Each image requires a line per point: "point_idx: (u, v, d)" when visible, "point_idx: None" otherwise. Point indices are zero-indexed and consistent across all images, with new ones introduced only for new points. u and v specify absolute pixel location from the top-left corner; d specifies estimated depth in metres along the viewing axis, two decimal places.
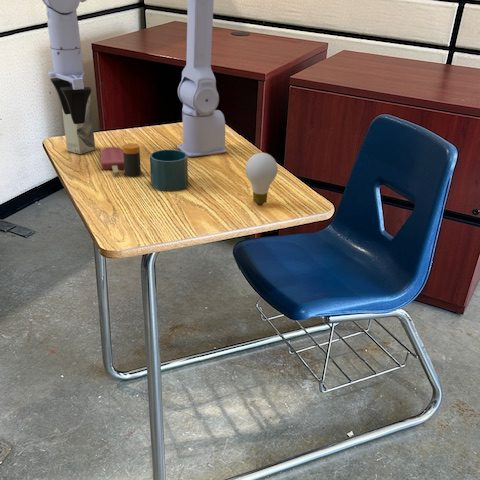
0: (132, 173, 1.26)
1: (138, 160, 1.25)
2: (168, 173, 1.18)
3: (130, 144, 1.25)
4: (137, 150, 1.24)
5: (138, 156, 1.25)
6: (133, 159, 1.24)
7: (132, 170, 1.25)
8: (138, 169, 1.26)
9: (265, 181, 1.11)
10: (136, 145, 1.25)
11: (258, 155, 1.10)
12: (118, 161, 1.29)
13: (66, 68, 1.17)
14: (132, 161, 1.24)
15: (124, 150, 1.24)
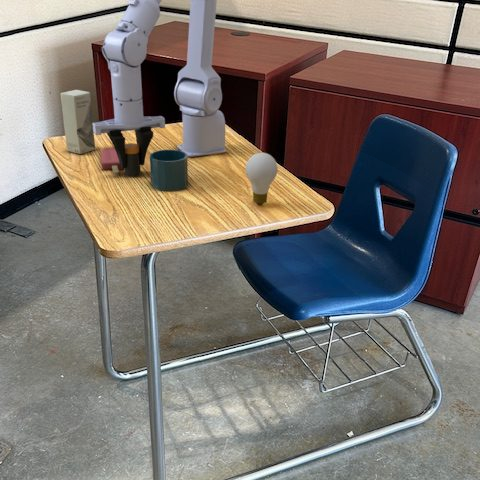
0: (132, 173, 1.26)
1: (138, 160, 1.25)
2: (168, 173, 1.18)
3: (130, 144, 1.25)
4: (137, 150, 1.24)
5: (138, 156, 1.25)
6: (133, 159, 1.24)
7: (132, 170, 1.25)
8: (138, 169, 1.26)
9: (265, 181, 1.11)
10: (136, 145, 1.25)
11: (258, 155, 1.10)
12: (118, 161, 1.29)
13: (114, 115, 1.21)
14: (132, 162, 1.24)
15: None
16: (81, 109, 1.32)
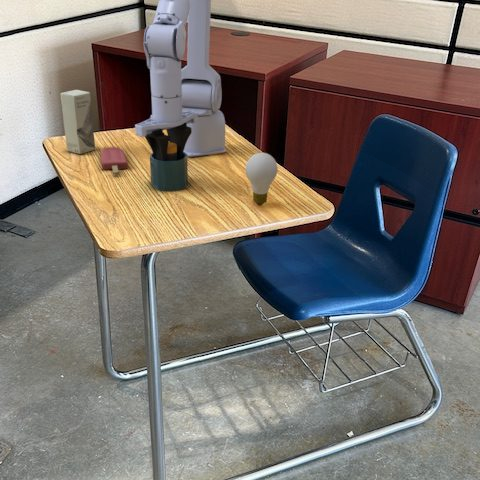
0: None
1: None
2: (168, 173, 1.18)
3: None
4: (176, 149, 1.19)
5: (176, 155, 1.20)
6: (174, 158, 1.19)
7: None
8: None
9: (265, 181, 1.11)
10: (173, 144, 1.19)
11: (258, 155, 1.10)
12: (118, 161, 1.29)
13: (153, 114, 1.14)
14: None
15: None
16: (81, 109, 1.32)
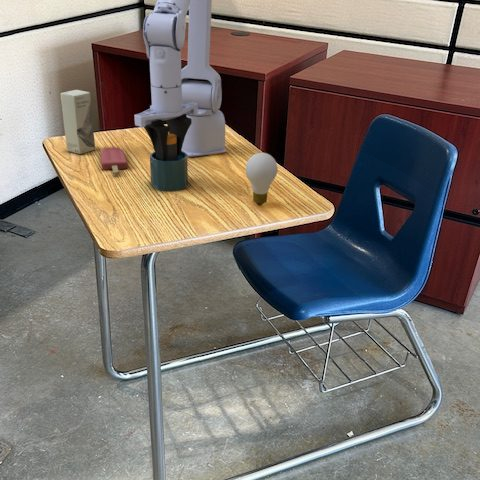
0: None
1: (176, 150, 1.19)
2: (168, 173, 1.18)
3: None
4: (176, 140, 1.18)
5: (176, 146, 1.19)
6: (173, 149, 1.18)
7: None
8: None
9: (265, 181, 1.11)
10: (173, 135, 1.18)
11: (258, 155, 1.10)
12: (118, 161, 1.29)
13: (152, 104, 1.13)
14: (172, 152, 1.18)
15: None
16: (81, 109, 1.32)
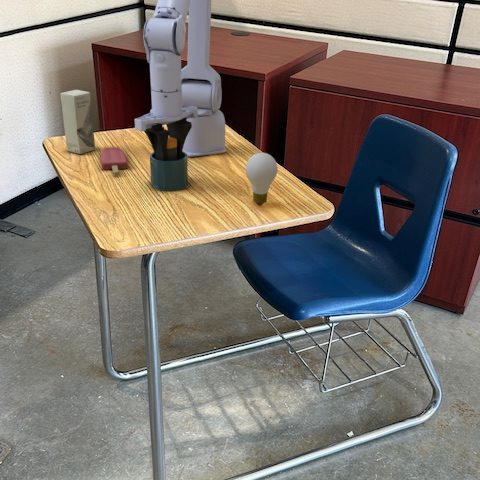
0: None
1: (176, 154, 1.20)
2: (168, 173, 1.18)
3: None
4: (176, 143, 1.18)
5: (176, 150, 1.19)
6: (174, 153, 1.18)
7: None
8: None
9: (265, 181, 1.11)
10: (173, 138, 1.19)
11: (258, 155, 1.10)
12: (118, 161, 1.29)
13: (153, 108, 1.14)
14: (172, 156, 1.19)
15: None
16: (81, 109, 1.32)
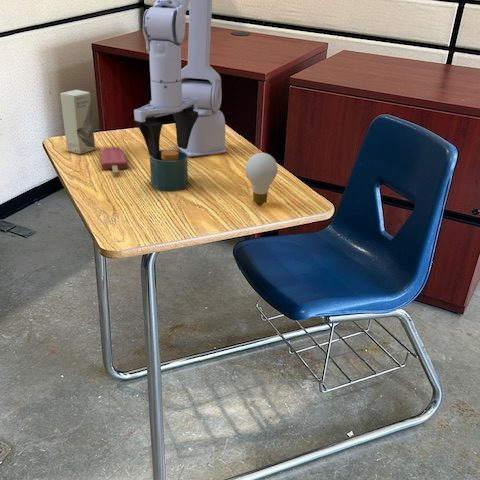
0: None
1: None
2: (168, 173, 1.18)
3: (167, 151, 1.20)
4: None
5: None
6: None
7: None
8: None
9: (265, 181, 1.11)
10: (174, 151, 1.20)
11: (258, 155, 1.10)
12: (118, 161, 1.29)
13: (152, 99, 1.13)
14: None
15: (165, 157, 1.19)
16: (81, 109, 1.32)
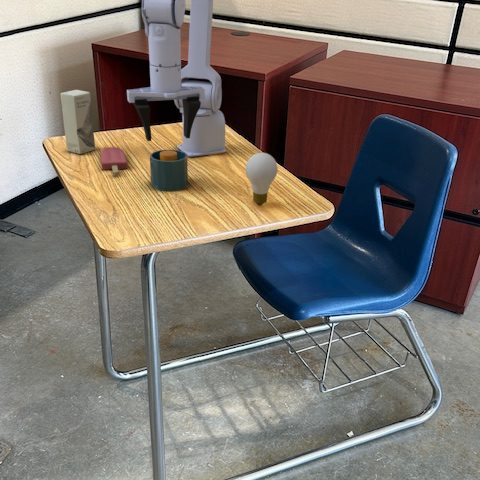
0: None
1: None
2: (168, 173, 1.18)
3: (166, 151, 1.20)
4: (176, 157, 1.20)
5: None
6: None
7: None
8: None
9: (265, 181, 1.11)
10: (173, 152, 1.20)
11: (258, 155, 1.10)
12: (118, 161, 1.29)
13: (181, 83, 1.13)
14: None
15: (164, 158, 1.19)
16: (81, 109, 1.32)
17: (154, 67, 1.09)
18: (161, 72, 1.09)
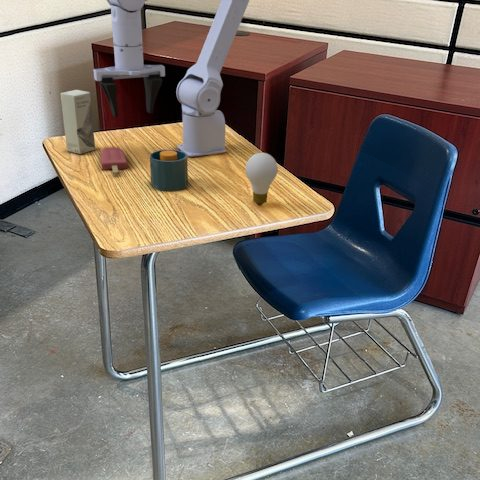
0: None
1: None
2: (168, 173, 1.18)
3: (166, 151, 1.20)
4: (176, 157, 1.20)
5: None
6: None
7: None
8: None
9: (265, 181, 1.11)
10: (173, 152, 1.20)
11: (258, 155, 1.10)
12: (118, 161, 1.29)
13: None
14: None
15: (164, 158, 1.19)
16: (81, 109, 1.32)
17: (119, 47, 1.19)
18: (125, 51, 1.19)
